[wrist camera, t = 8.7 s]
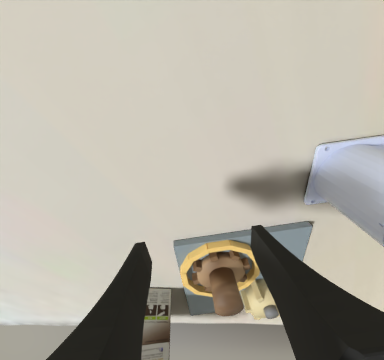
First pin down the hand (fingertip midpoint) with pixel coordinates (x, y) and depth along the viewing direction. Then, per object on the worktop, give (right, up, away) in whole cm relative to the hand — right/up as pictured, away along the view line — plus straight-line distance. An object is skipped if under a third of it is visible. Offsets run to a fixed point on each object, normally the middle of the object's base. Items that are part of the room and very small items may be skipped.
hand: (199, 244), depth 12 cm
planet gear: (+4, -9, +15) cm, 18 cm away
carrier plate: (+7, -11, +18) cm, 22 cm away
